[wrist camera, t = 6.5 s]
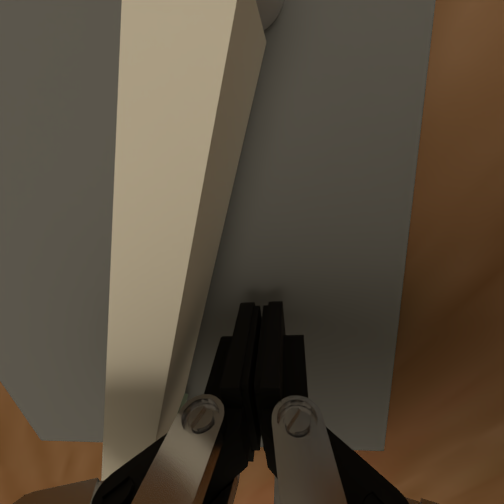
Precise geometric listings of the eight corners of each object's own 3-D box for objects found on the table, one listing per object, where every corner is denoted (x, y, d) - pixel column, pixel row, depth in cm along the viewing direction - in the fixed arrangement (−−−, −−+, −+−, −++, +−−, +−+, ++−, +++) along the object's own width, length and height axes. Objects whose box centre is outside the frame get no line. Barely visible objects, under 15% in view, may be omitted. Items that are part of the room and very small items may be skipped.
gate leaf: (296, -49, 7) (312, -301, 3) (183, 412, 16) (144, 530, 11) (219, -72, 7) (116, -367, 3) (148, 403, 16) (94, 518, 11)
